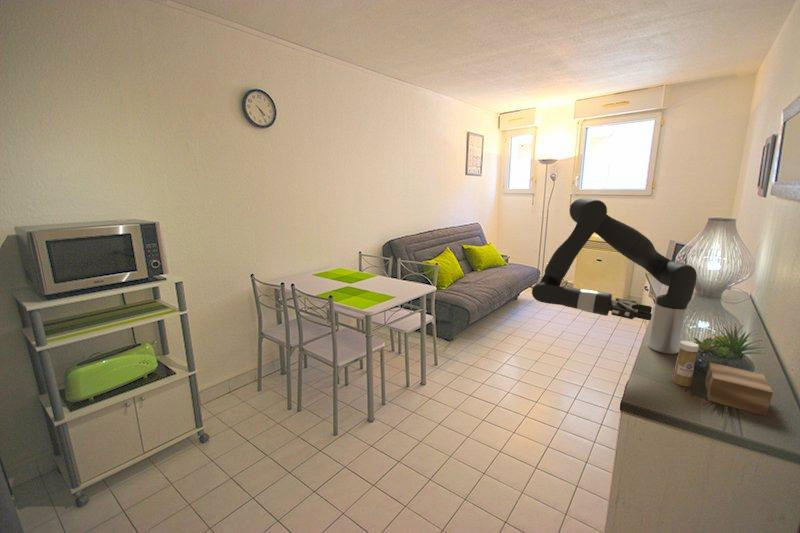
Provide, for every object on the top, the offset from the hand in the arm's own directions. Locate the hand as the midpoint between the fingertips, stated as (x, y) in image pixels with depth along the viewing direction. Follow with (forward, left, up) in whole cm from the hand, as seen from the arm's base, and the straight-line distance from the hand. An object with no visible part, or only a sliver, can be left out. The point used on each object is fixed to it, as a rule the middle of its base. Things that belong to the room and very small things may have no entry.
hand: (651, 313), depth 114 cm
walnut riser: (+1, +23, -21) cm, 31 cm away
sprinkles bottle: (0, +11, -21) cm, 23 cm away
